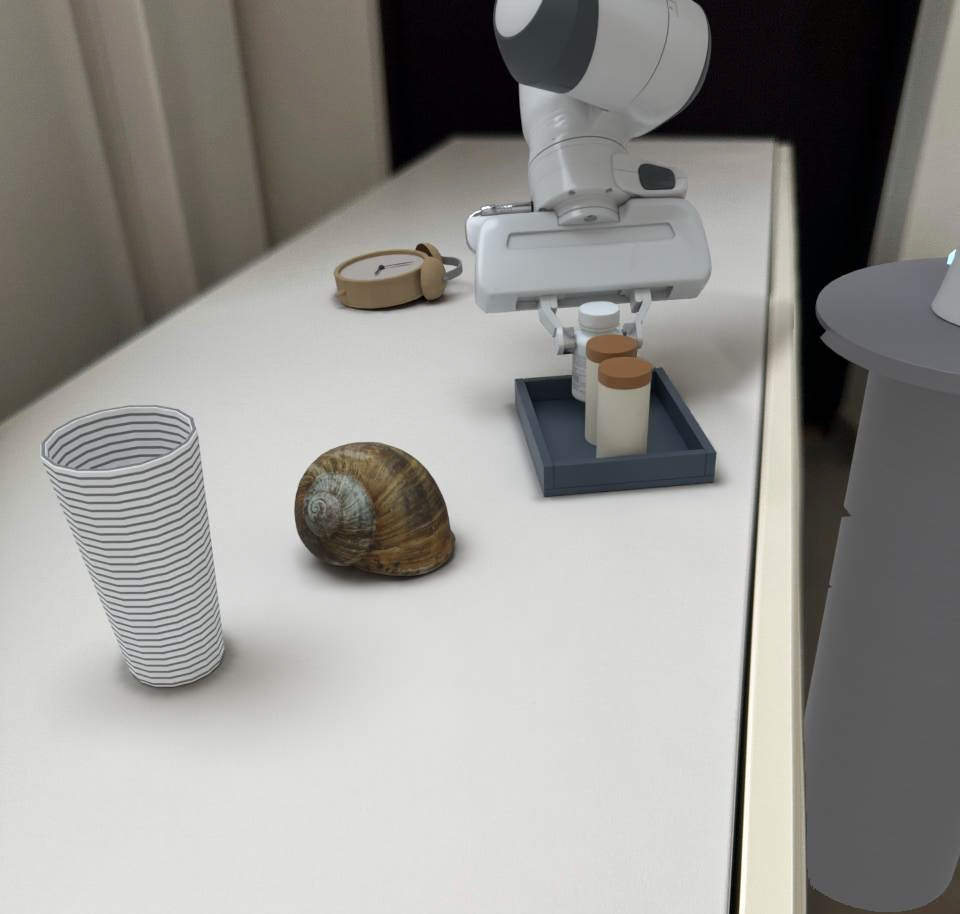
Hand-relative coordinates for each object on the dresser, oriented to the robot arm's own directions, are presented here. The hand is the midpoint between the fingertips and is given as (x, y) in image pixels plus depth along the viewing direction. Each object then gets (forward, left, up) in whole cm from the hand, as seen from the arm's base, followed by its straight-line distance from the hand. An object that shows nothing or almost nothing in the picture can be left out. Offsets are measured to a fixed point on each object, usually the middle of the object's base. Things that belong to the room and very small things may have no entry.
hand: (600, 349), depth 89 cm
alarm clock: (+16, -39, -7) cm, 43 cm away
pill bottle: (0, -1, -5) cm, 5 cm away
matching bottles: (0, +7, -7) cm, 10 cm away
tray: (0, +4, -7) cm, 8 cm away
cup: (+33, +30, -7) cm, 45 cm away
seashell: (+20, +19, -7) cm, 28 cm away
